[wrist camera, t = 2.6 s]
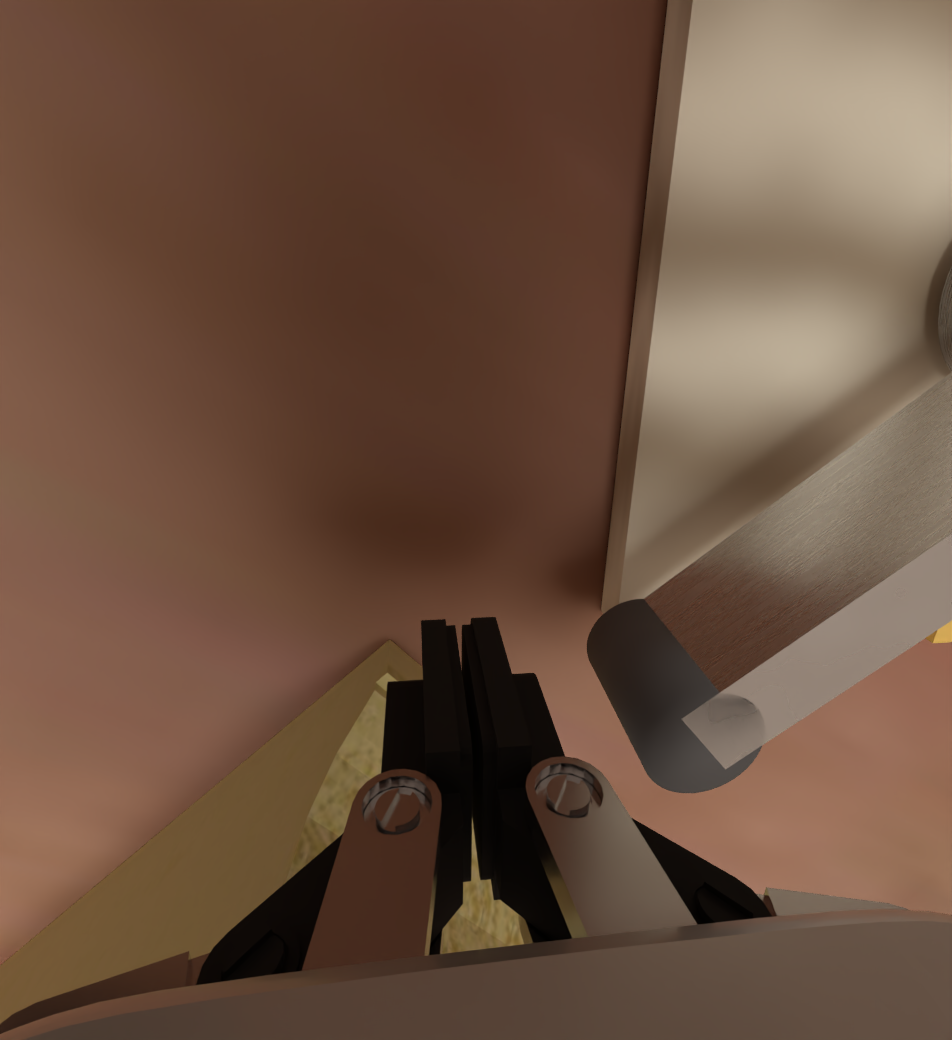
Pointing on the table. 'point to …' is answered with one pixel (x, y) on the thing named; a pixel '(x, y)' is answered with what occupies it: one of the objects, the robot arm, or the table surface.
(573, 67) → the table surface
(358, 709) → the decorative clock
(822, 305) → the dial base
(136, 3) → the table surface
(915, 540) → the capstan lever
